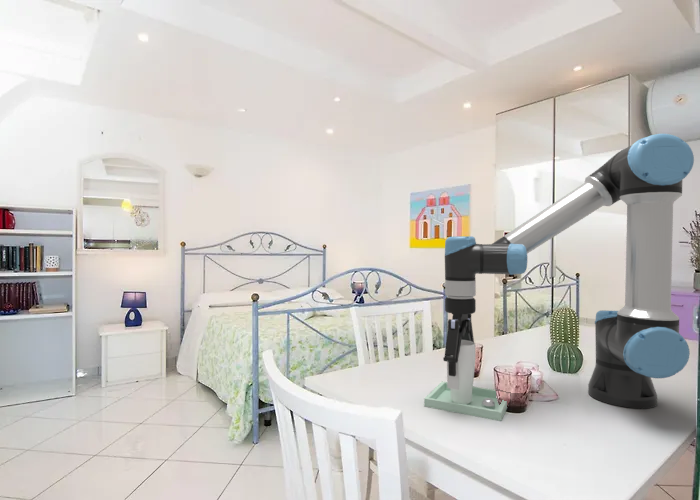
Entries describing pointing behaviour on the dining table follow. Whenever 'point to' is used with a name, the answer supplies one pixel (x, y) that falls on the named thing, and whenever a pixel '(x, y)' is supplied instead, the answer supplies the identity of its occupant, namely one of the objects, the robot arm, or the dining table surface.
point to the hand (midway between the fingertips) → (460, 380)
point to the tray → (443, 402)
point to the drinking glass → (465, 373)
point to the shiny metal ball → (488, 403)
